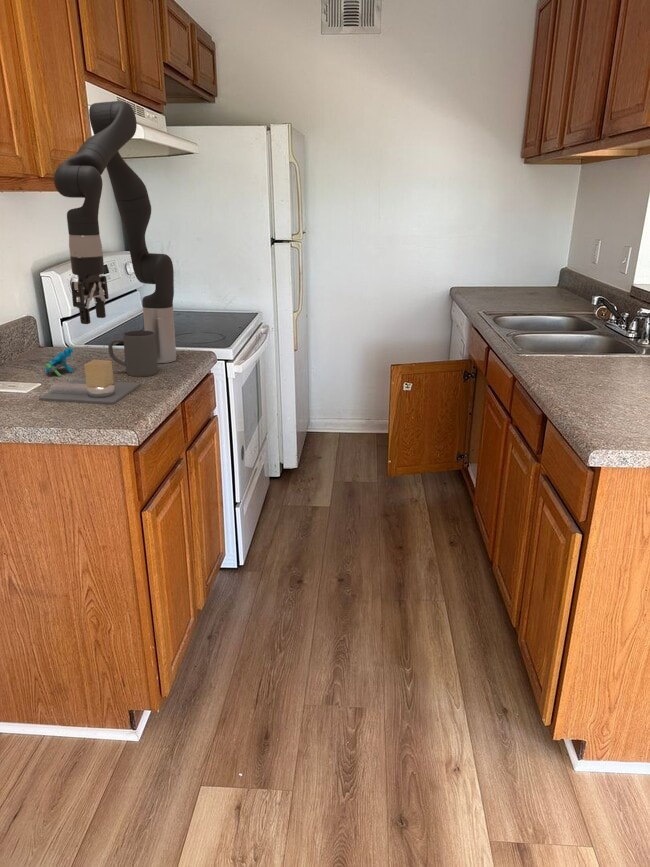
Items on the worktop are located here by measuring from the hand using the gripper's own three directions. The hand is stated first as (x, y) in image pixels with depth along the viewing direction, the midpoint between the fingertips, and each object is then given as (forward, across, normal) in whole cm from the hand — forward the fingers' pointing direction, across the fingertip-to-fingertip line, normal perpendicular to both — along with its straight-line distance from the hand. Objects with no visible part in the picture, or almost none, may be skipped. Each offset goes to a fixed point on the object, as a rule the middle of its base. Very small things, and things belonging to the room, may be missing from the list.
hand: (93, 320), depth 161 cm
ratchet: (+19, 0, -5) cm, 20 cm away
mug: (+20, -24, -1) cm, 31 cm away
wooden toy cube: (+17, 0, 0) cm, 17 cm away
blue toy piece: (+20, -21, -23) cm, 37 cm away
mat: (+20, -3, -4) cm, 21 cm away
